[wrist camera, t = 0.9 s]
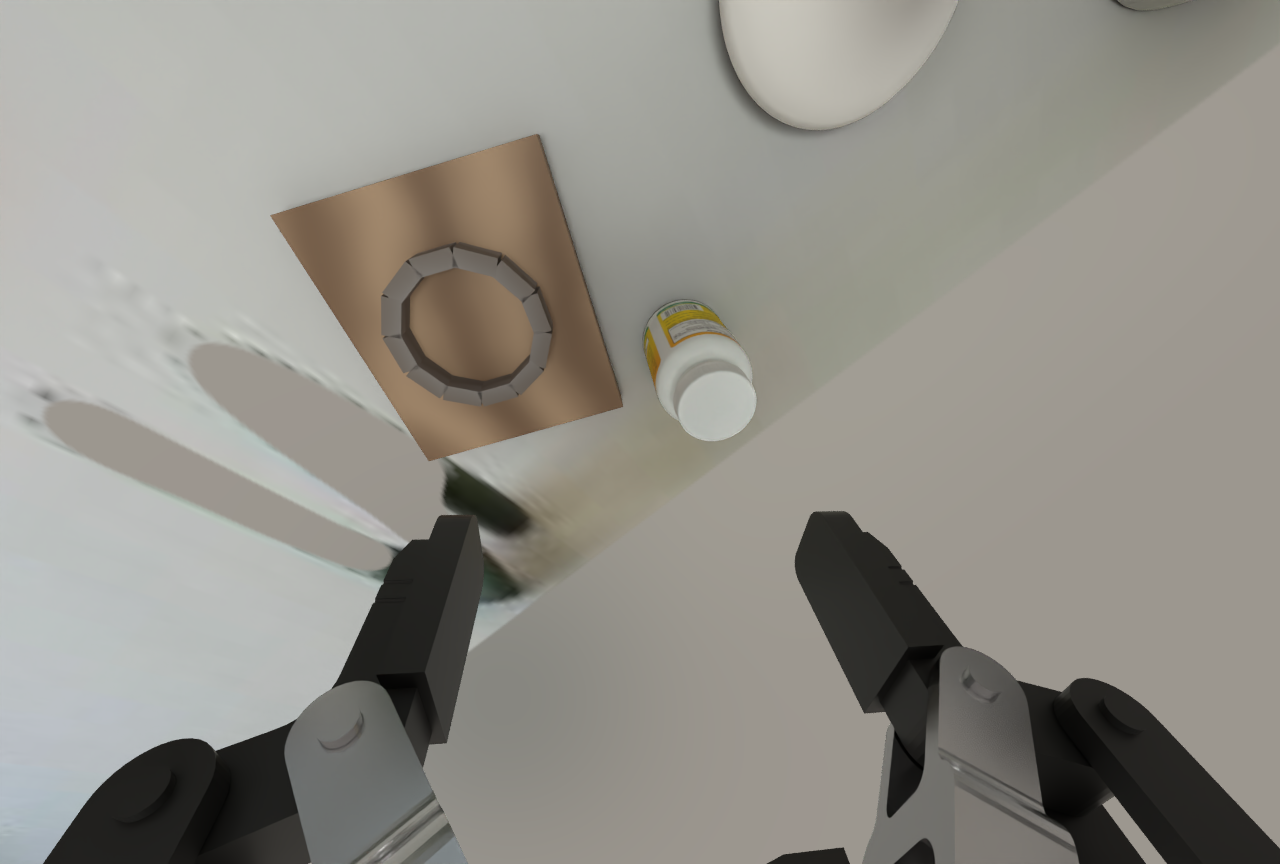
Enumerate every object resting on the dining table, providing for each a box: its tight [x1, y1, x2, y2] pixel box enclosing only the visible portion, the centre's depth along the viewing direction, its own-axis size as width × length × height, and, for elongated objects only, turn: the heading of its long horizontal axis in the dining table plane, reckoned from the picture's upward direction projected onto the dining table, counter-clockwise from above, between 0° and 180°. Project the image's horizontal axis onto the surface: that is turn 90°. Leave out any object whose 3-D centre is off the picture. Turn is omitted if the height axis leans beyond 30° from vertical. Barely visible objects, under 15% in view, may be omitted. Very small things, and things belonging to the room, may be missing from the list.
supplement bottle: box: [643, 300, 757, 441], centre depth 26 cm, size 5×5×10 cm
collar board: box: [270, 134, 623, 461], centre depth 27 cm, size 14×16×3 cm
